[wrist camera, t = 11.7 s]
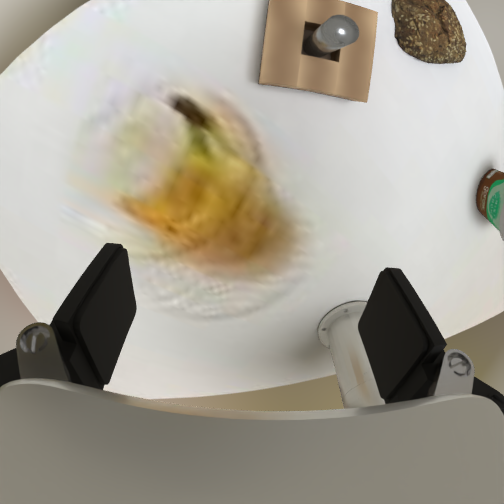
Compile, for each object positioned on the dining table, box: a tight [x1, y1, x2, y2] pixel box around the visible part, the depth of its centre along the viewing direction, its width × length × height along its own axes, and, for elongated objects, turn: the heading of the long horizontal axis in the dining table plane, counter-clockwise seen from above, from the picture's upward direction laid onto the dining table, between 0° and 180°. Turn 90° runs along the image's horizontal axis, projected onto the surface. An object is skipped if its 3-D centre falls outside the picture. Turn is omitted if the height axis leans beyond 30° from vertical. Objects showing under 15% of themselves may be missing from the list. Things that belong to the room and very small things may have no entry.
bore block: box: [259, 0, 378, 103], centre depth 25 cm, size 12×12×5 cm
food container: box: [476, 169, 504, 241], centre depth 32 cm, size 12×6×10 cm, turn 21°
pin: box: [303, 15, 359, 58], centre depth 22 cm, size 3×3×11 cm
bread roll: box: [392, 0, 466, 64], centre depth 21 cm, size 13×12×5 cm
